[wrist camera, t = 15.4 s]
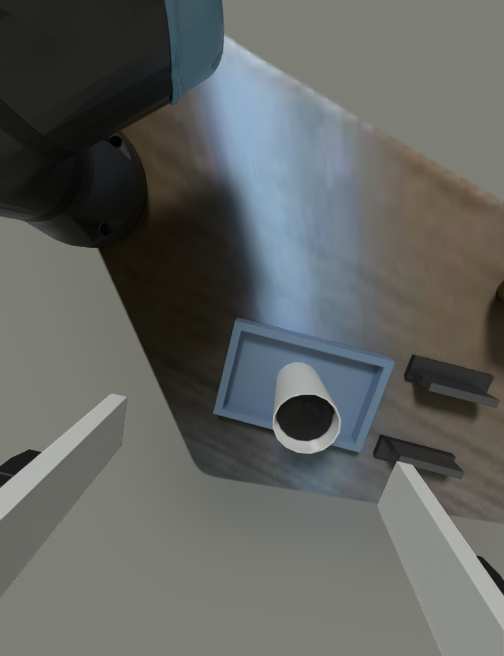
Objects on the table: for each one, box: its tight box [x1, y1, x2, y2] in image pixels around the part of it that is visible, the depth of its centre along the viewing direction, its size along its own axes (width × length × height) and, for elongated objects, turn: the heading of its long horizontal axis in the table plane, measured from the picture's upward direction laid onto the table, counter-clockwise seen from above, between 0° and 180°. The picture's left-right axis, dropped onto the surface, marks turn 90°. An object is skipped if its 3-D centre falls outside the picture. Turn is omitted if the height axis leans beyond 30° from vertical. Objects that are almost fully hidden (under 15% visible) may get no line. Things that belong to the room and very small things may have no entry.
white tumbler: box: [273, 362, 341, 454], centre depth 32 cm, size 7×7×10 cm
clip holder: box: [373, 354, 500, 479], centre depth 35 cm, size 15×10×4 cm, turn 166°
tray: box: [213, 317, 395, 453], centre depth 36 cm, size 13×20×2 cm, turn 76°
